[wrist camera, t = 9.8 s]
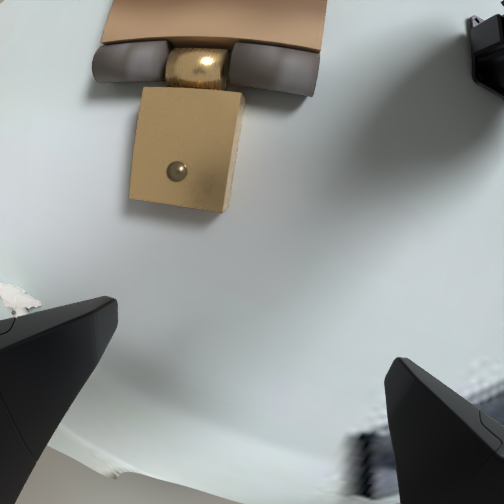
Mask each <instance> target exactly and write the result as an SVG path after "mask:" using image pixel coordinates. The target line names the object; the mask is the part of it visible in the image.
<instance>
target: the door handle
mask: <svg viewBox="0 0 504 504" xmlns="http://www.w3.org/2000/svg"><path fill="white" fill-rule="evenodd" d="M0 297H2V300H3V303H4V306H5V307H12V309H13V311H12V314H13V315H15V316H14V317H16V318H17V317H18V316H22V315H26V314H30V313H29V311H27V309H26V307H27V308H28V309H30V308H31V307H33V306H34V307H36V308H37V307H38V306H41V302H40V301H38V300H37V299H35V298H33V297H32V296H30V295H28V294H26V292H25V290H23V289H21V288H20V287H18V286H16V285H14V284H8V285H7V284H5V283H3V282H0Z"/></svg>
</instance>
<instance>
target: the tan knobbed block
mask: <svg viewBox="0 0 504 504" xmlns="http://www.w3.org/2000/svg"><path fill="white" fill-rule="evenodd" d="M229 68H230V55H229V51H228V50H226V49H209V48H174V49H173V50H172V51H171V52H170V54H169V57H168V60H167V64H166V82H167V85H168V87H143V92H142V97H141V103H140V109H139V115H138V121H137V128H136V135H135V142H134V150H133V159H132V168H131V178H130V190H129V199H136V200H142V201H149V202H156V203H163V204H169V205H176V206H182V207H189V208H195V209H201V210H207V211H213V212H219V213H223V212H224V211H225V210H226V209H227V208H228V207H229V201H230V195H231V188H232V182H233V175H234V169H235V163H236V156H237V150H238V144H239V138H240V132H241V126H242V120H243V114H244V109H245V103H246V99H245V98H244V96H243V94H242V93H240V92H231V91H224V89H225V87H226V84H227V80H228V75H229Z"/></svg>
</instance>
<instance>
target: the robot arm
mask: <svg viewBox="0 0 504 504" xmlns="http://www.w3.org/2000/svg"><path fill="white" fill-rule="evenodd" d="M501 4H502V5H503V6H504V0H503V1H502V2H501ZM470 25H471V29H470V33H471V53H472V76H473V79H474V81H475V82H476V83H478V84H479V85H481V86H483V87H485V88H487V89H488V90H490V91H492V92H493V93H495V94H497V95H498V96H500V97H502V98H503V99H504V15H502V16H501V15H500V14H496V15H494V16H493V17H491V18H489V19H487V20H485V21H484V20H482V19H481V18H479V17H477V16H475V15H473V16H472V17H470ZM477 75H478V76H479V78H480V79H479V78H478V76H477ZM117 325H118V304H117V300H116V299H114V298H111V297H108V296H102V297H98V298H94V299H90V300H86V301H81V302H77V303H73V304H69V305H65V306H60V307H56V308H52V309H48V310H43V311H39V312H35V313H31V314H26V315H22V316H18V317H17V318H16V317H13V318H9V319H5V320H0V504H15V502H16V500H17V498H18V496H19V494H20V492H21V490H22V489H23V487H24V484H25V483H26V481H27V479H28V477H29V475H30V474H31V472H32V470H33V468H34V467H35V465H36V462H37V461H38V459H39V457H40V456H41V454H42V452H43V450H44V449H45V447H46V445H47V443H48V442H49V440H50V438H51V437H52V435H53V433H54V432H55V430H56V428H57V427H58V425H59V423H60V422H61V420H62V419H63V417H64V415H65V414H66V412H67V411H68V409H69V407H70V406H71V404H72V403H73V401H74V399H75V398H76V396H77V395H78V393H79V392H80V390H81V389H82V387H83V385H84V384H85V382H86V381H87V379H88V378H89V376H90V375H91V373H92V372H93V370H94V369H95V367H96V366H97V364H98V362H99V361H100V359H101V357H102V355H103V353H104V351H105V349H106V347H107V345H108V343H109V341H110V339H111V338H112V336H113V334H114V332H115V330H116V328H117ZM384 386H385V395H386V406H387V417H388V424H389V430H390V435H391V441H392V447H393V453H394V459H395V465H396V472H397V479H398V487H399V495H400V503H401V504H504V426H503V425H501V424H500V423H498V422H497V421H495V420H494V419H492V418H491V417H489V416H488V415H487V414H485V413H484V412H482V411H481V410H478V408H477V407H475V406H474V405H473V404H471V403H470V402H468V401H467V400H466V399H464V398H463V397H461V396H460V395H459V394H457V393H456V392H454V391H453V390H452V389H450V388H449V387H447V386H446V385H445V384H443V383H442V382H440V381H439V380H438V379H436V378H435V377H433V376H432V375H431V374H429V373H428V372H426V371H425V370H424V369H422V368H421V367H419V366H418V365H417V364H415V363H414V362H412V361H411V360H410V359H408V358H402V357H397V358H396V359H395V360H394V361H393V363H392V365H391V367H390V369H389V371H388V373H387V375H386V377H385V380H384Z"/></svg>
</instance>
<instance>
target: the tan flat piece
mask: <svg viewBox="0 0 504 504" xmlns="http://www.w3.org/2000/svg"><path fill="white" fill-rule="evenodd" d="M326 6H327V0H114V1H113V4H112V7H111V10H110V13H109V16H108V19H107V22H106V25H105V29H104V32H103V36H102V39H101V43H102V44H104V45H105V46H101V47H100V48H99V49H98V50H97V51H96V53H95V55H94V57H93V61H92V73H93V76H94V78H95V80H96V81H97V82H99V83H110V82H131V81H166V64H167V60H168V57H169V54H170V52H171V51H172V50H173V48H209V49H226V50H233V51H232V55H231V60H230V70H229V78H230V84H231V85H237V86H246V87H254V88H261V89H268V90H275V91H281V92H287V93H293V94H299V95H304V96H309V97H313V94H314V90H315V86H316V81H317V76H318V70H319V62H320V54H319V53H320V50H321V44H322V37H323V29H324V22H325V14H326Z"/></svg>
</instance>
